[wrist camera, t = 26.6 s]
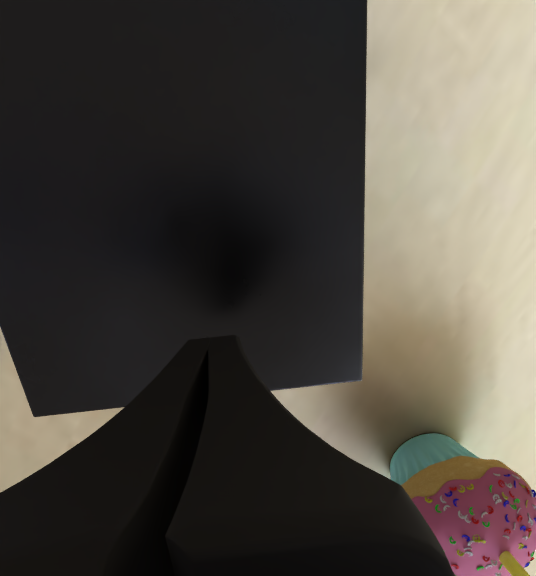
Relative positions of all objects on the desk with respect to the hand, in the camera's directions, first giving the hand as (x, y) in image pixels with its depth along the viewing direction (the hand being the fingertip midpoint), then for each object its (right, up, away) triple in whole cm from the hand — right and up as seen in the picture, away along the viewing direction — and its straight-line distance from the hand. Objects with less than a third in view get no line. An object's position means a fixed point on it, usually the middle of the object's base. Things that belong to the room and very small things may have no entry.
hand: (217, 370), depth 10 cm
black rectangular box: (-2, +7, +8) cm, 11 cm away
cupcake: (+12, -9, +16) cm, 22 cm away
